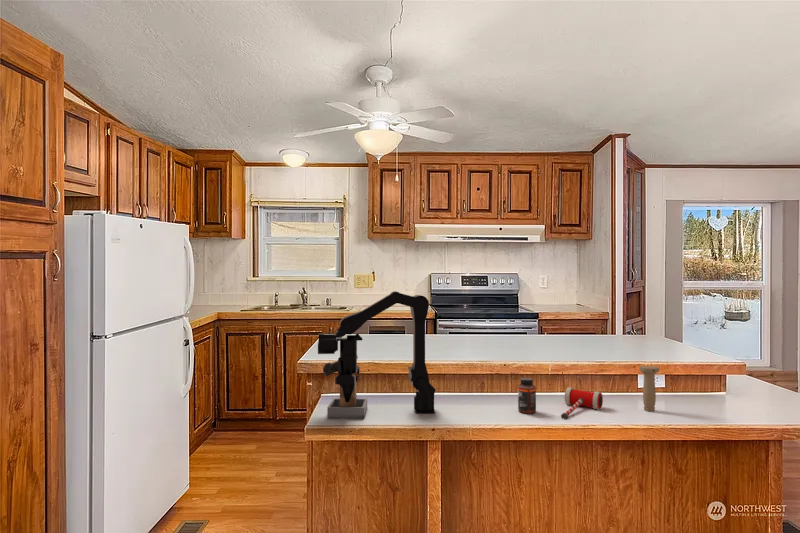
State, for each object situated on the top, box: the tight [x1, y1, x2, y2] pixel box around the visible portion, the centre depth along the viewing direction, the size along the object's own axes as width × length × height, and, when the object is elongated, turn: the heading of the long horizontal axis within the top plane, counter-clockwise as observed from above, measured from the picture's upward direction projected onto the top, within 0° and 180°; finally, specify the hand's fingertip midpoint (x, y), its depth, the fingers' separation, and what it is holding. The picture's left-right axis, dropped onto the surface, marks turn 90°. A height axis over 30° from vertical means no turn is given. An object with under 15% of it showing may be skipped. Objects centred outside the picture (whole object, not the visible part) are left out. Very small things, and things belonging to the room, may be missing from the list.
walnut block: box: [339, 383, 357, 407], centre depth 167 cm, size 5×5×7 cm
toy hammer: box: [560, 386, 604, 420], centre depth 171 cm, size 23×12×6 cm, turn 141°
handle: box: [638, 365, 660, 412], centre depth 172 cm, size 5×6×15 cm
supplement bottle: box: [517, 377, 537, 415], centre depth 170 cm, size 6×6×11 cm
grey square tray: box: [326, 397, 368, 420], centre depth 167 cm, size 12×12×4 cm
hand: (348, 400), depth 167 cm, fingers closed on walnut block, 5 cm apart
